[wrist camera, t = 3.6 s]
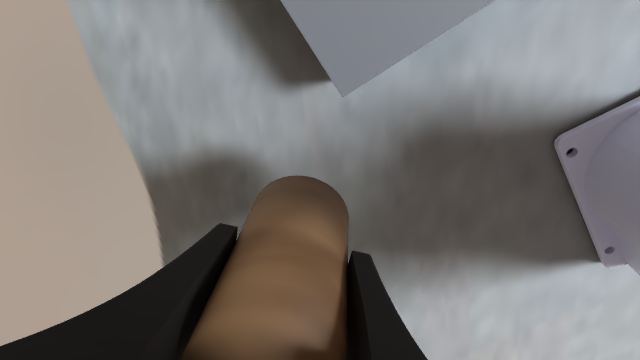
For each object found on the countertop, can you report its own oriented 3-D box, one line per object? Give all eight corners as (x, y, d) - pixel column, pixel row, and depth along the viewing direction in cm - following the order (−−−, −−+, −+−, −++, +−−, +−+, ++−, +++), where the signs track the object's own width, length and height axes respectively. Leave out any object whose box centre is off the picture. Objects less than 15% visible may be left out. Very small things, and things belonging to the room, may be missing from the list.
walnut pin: (366, 231, 14) (377, 405, 8) (290, 268, 16) (251, 441, 10) (312, 158, 13) (278, 300, 7) (234, 204, 14) (145, 359, 8)
